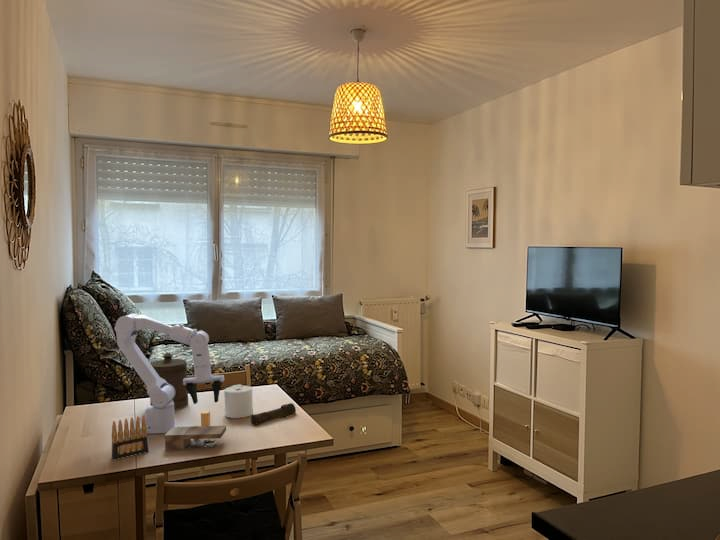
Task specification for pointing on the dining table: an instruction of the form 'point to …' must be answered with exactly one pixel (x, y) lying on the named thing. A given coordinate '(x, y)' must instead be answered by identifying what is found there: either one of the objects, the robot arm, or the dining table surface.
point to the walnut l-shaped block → (191, 435)
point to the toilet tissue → (238, 401)
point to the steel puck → (210, 442)
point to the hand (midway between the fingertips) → (206, 402)
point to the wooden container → (173, 377)
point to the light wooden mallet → (205, 419)
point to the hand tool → (274, 414)
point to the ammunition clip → (129, 439)
